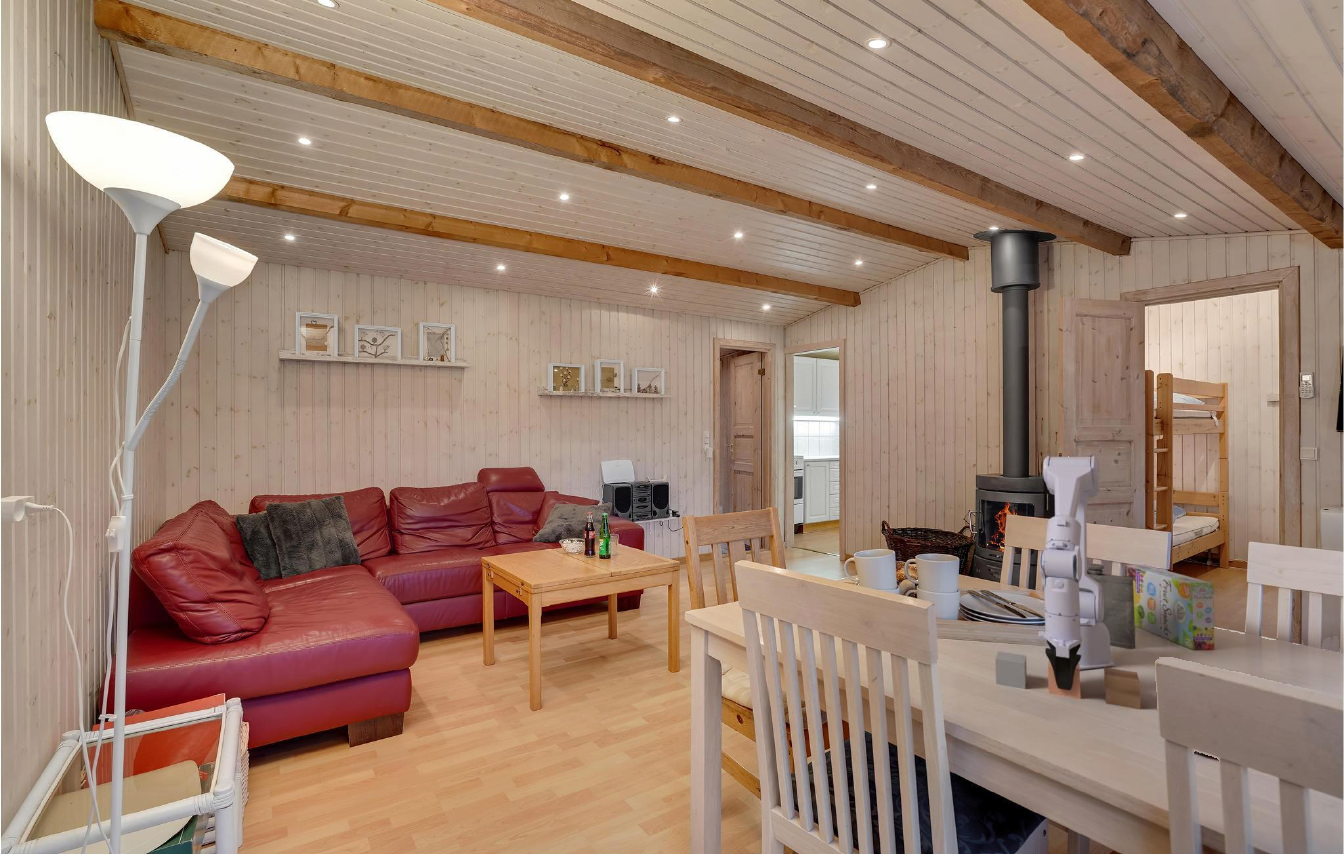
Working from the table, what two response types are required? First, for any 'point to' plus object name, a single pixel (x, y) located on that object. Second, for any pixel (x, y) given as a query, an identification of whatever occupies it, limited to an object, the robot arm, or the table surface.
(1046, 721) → the table surface
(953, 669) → the table surface
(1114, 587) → the dark grey slab
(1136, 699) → the walnut block
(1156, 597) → the snack box
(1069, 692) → the terracotta block
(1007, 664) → the slate block
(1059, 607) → the robot arm
